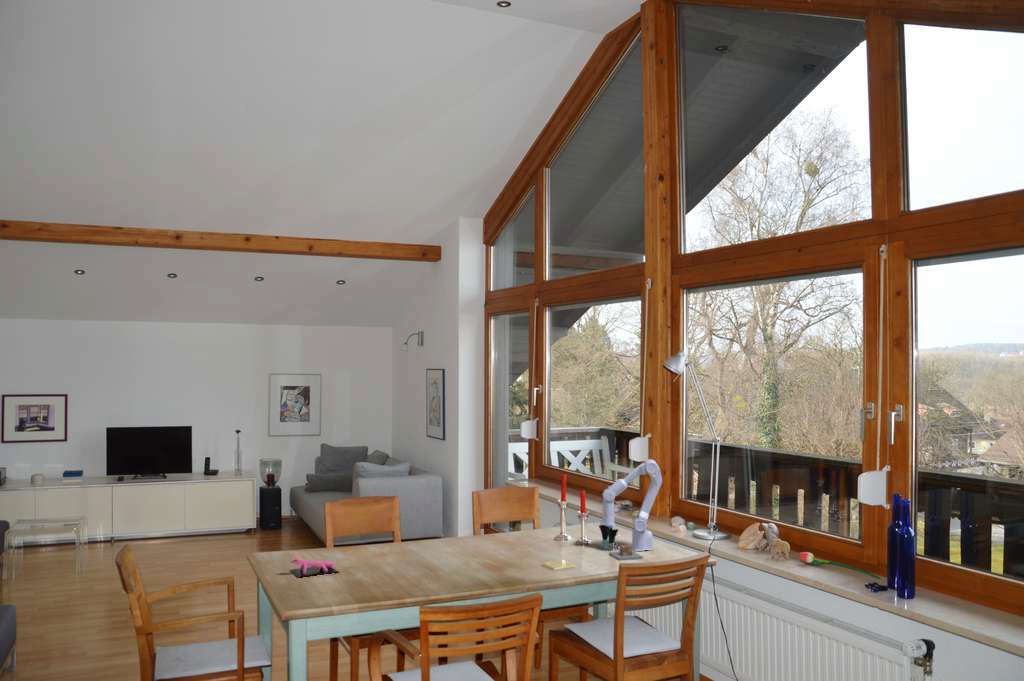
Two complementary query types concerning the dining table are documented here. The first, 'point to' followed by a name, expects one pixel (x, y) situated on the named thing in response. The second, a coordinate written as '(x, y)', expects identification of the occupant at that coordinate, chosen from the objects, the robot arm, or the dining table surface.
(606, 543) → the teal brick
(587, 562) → the dining table surface
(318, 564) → the pink animal figurine
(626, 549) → the brown cube
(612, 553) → the base plate
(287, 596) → the dining table surface
